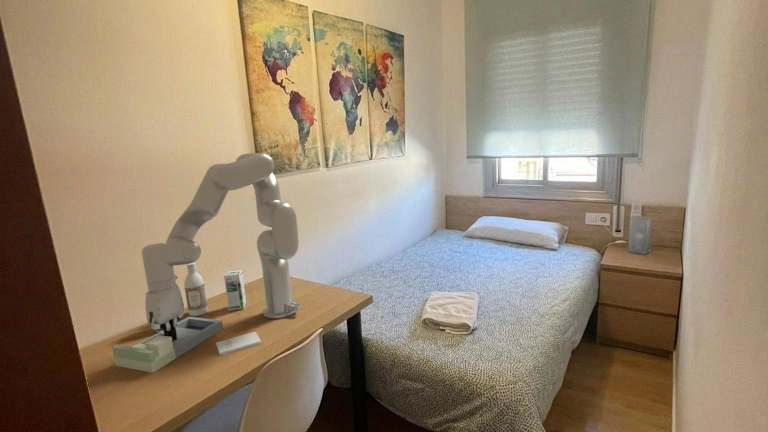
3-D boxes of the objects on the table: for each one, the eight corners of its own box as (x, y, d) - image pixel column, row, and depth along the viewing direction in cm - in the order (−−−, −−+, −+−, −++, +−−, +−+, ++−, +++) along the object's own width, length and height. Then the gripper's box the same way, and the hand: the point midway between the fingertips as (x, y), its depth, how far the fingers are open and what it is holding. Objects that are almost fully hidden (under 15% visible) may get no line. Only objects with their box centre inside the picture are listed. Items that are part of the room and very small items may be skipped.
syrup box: (228, 311, 154) (223, 275, 152) (232, 305, 160) (227, 270, 157) (243, 309, 155) (238, 273, 152) (246, 303, 161) (242, 269, 158)
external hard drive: (261, 345, 127) (219, 357, 121) (255, 335, 134) (216, 346, 128) (260, 340, 126) (219, 352, 120) (255, 331, 133) (215, 341, 127)
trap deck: (223, 328, 139) (220, 312, 138) (152, 372, 113) (149, 353, 112) (190, 324, 144) (187, 308, 143) (115, 365, 118) (112, 347, 117)
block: (173, 347, 121) (171, 336, 121) (159, 355, 117) (157, 344, 116) (160, 345, 123) (158, 335, 122) (146, 354, 118) (144, 343, 118)
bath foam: (186, 317, 150) (178, 267, 147) (191, 310, 157) (183, 262, 153) (206, 315, 152) (198, 264, 148) (210, 308, 158) (202, 259, 155)
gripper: (173, 275, 129) (181, 328, 132) (130, 292, 115) (140, 350, 118) (190, 277, 126) (199, 330, 129) (148, 294, 112) (159, 354, 116)
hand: (171, 340), depth 124 cm, fingers closed
